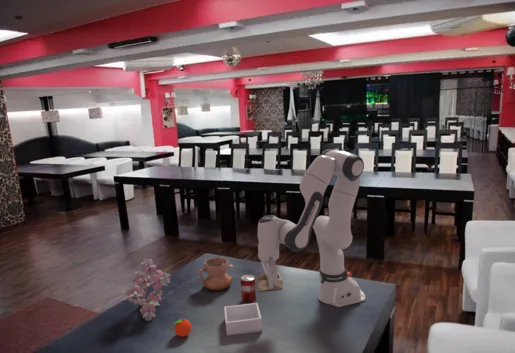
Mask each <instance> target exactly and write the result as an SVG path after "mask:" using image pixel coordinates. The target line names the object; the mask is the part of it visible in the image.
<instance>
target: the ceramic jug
mask: <svg viewBox="0 0 515 353" xmlns="http://www.w3.org/2000/svg"><path fill="white" fill-rule="evenodd" d="M228 263H229V260H228V259H227V257H223V256H221V257H220V256H219V257H212V258H208V259H206V260H205V261H204V263H203V264H204V267H205V268H201V269H199V270H198V277H199V279H200V280H201V282H202V284H203V285H204V287H205V288H206V289H208V290H211V291H221V290H225V289H227V288H228V287H229V286H230V285H231V284H232V280H233V276H231V275H230V274H228V273H226V272H227V270H228V269H230V268H233V264H228ZM202 272H204V273H206V274H208V275H207V276H206V277H205V278H203V276H202Z"/></svg>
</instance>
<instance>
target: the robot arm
mask: <svg viewBox="0 0 515 353" xmlns="http://www.w3.org/2000/svg"><path fill="white" fill-rule="evenodd" d="M364 169H365V163H364V160H363V158H362V157H361V156H359V155H357V154H354V153H352V152H349V151H345V150H339V149H335V148H327V149H325V150H324V151H323V152H321V154H320V155H318V156H317V157H316V158H314V160H313V161H312V163H311V164H310V165H309V167H307V169H306V171H305V173H304V175H303V176H302V177H301V178H302V179H301V180H300V183H299V190H300V193H301V195H302V197H303V199H304V202H305V206H304V209H303V211H302V213H301V215H300V217H299V220H298V222H297V224H296V223H294V222H292V221H290V220H288V219H282V218H279V217H277V216H276V215H273V214H268V215H267V214H266V215H263V216H262V217H261V218H260V219H259V221H258V224H257V239H258V245H257V248H258V249H257V251H258V252H257V255H258V259H259V260H260V262H261V266H262V269H263V271H264V274H266V277H267V279H268V282H269V288H270V289H272V288H273V284H275V283H277V281H278V277H277V273H278V266H277V264H276V262H277V260H278V259H279V258H280V244H283V245H285V246H286V247H287V248H288V249H289V250H290V251H292V252H296V253H297V252H298V253H299V252H301V251H303V250H304V249H305V248H306V247H308V245H309V243H310V239H311V234H312V231H313V230H314V234H315V237H316V241H317V245H318V251H319V260H320V261H319V262H320V268H319V273H318V274H319V277H318V278H319V282H320V283H319V289H318V294H317V299H318V300H319V301H320V302H321V303H324V304H326V305H331V306H334V307H336V308H341V307H344V306H349V305H353V304H357V303H361V302H365V301H366V295H365V293H364V292H363V290H362V289H361V288H360V286H359V284H358V282H357V281H356V280H355V279H354V278H352V273H351V271H348V270H347V269H346V268H345V256H344V252H343V250H345V249H347V248H348V247H349V246H350V245H351V244H352V242H353V234H352V229H351V221H352V220H351V218H352V212H353V208H354V205H355V202H356V199H357V196H358V192H359V189H360V183H361V175H362V174H363V172H364ZM334 175H336V181H335V183H334V184H333V185H334V186H333V189H332V191H331V194H330V198H329V201H328V205H327V206H328V212H329V214H328V216H327V215H319V214H320V211H321V209H322V206H323V203H324V202H323V201H324V195H325V192H326V189H327V187H328V186H329V184H330V182H331V180H332V178H333V176H334Z"/></svg>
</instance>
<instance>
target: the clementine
mask: <svg viewBox="0 0 515 353" xmlns="http://www.w3.org/2000/svg"><path fill="white" fill-rule="evenodd" d="M173 327H174V332H175V334H176V335H177V336H178V337H183V338H184V337H187V336H188V335H189V334H190V333H191V330H192V324H191V322H190V321H189V320H188V319H186V318H181V319H179V320H177V321H176V322H174V323H173V325H172V327H171V328H173Z"/></svg>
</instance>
